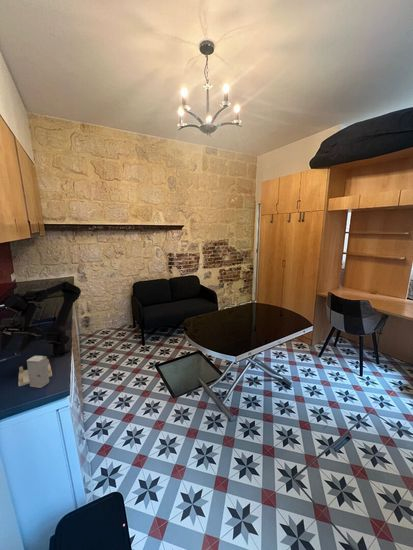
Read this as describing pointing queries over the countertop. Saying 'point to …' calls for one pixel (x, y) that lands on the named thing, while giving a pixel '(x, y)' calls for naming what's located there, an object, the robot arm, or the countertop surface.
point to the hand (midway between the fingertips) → (11, 350)
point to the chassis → (25, 377)
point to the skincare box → (38, 371)
